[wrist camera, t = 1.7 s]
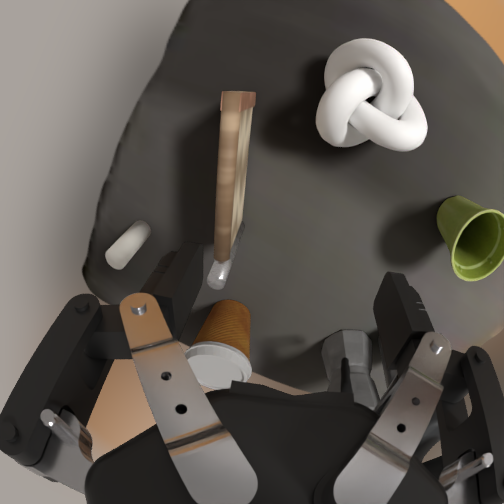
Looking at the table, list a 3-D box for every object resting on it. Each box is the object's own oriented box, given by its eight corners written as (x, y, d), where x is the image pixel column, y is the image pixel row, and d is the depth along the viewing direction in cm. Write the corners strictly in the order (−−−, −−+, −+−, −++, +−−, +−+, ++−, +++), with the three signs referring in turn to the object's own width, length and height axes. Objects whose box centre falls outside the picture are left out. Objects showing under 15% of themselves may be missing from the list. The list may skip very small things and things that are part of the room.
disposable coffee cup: (200, 287, 44) (175, 346, 34) (262, 295, 43) (251, 358, 33) (204, 329, 49) (185, 385, 39) (258, 337, 48) (249, 396, 38)
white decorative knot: (294, 54, 26) (294, 40, 18) (395, 42, 23) (427, 30, 15) (318, 147, 31) (327, 167, 23) (414, 134, 28) (448, 150, 20)
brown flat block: (243, 220, 36) (228, 262, 28) (231, 218, 36) (212, 260, 28) (256, 92, 28) (241, 92, 20) (241, 91, 28) (220, 91, 20)
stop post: (150, 221, 39) (123, 251, 32) (151, 239, 41) (126, 271, 34) (132, 219, 39) (103, 247, 33) (134, 237, 41) (107, 267, 34)
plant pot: (413, 230, 34) (437, 266, 27) (446, 170, 29) (481, 195, 22) (456, 254, 35) (481, 290, 28) (488, 202, 30) (521, 230, 23)
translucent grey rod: (245, 220, 37) (225, 275, 27) (244, 232, 38) (224, 290, 28) (231, 218, 37) (206, 272, 27) (230, 230, 38) (206, 287, 28)
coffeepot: (374, 360, 49) (386, 445, 33) (327, 370, 51) (328, 455, 36) (366, 304, 42) (387, 406, 27) (308, 317, 45) (308, 420, 29)
